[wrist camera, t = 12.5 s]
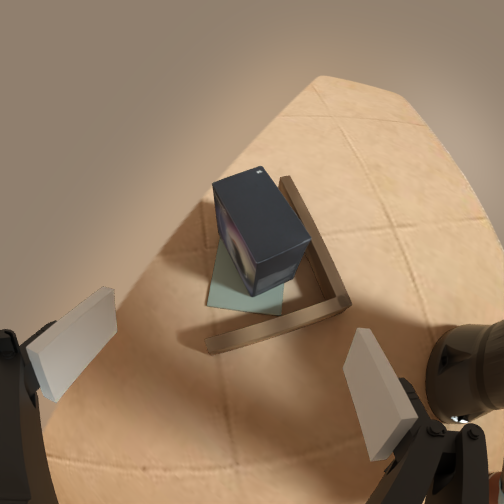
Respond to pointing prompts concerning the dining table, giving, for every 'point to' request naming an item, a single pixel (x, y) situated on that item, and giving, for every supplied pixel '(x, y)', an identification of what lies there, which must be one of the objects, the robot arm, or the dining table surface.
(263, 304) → the pad
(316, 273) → the walnut corner fence
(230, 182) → the small box
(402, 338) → the dining table surface
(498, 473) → the coffee cup
